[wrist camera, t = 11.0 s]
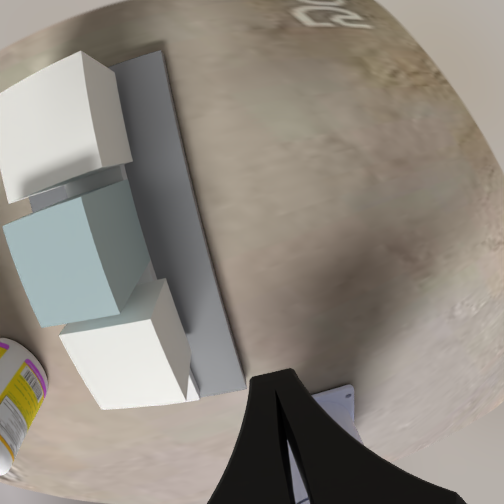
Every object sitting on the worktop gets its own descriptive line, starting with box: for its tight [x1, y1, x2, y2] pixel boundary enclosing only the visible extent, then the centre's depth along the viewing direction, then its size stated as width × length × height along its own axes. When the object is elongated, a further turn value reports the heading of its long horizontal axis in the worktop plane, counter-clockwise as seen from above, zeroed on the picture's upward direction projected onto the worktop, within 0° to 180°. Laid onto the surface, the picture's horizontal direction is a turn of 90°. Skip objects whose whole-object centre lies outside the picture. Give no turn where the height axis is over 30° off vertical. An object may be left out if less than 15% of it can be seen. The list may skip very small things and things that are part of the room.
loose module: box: [2, 179, 150, 328], centre depth 13 cm, size 4×4×6 cm
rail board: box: [0, 50, 247, 410], centre depth 15 cm, size 22×10×6 cm, turn 12°
